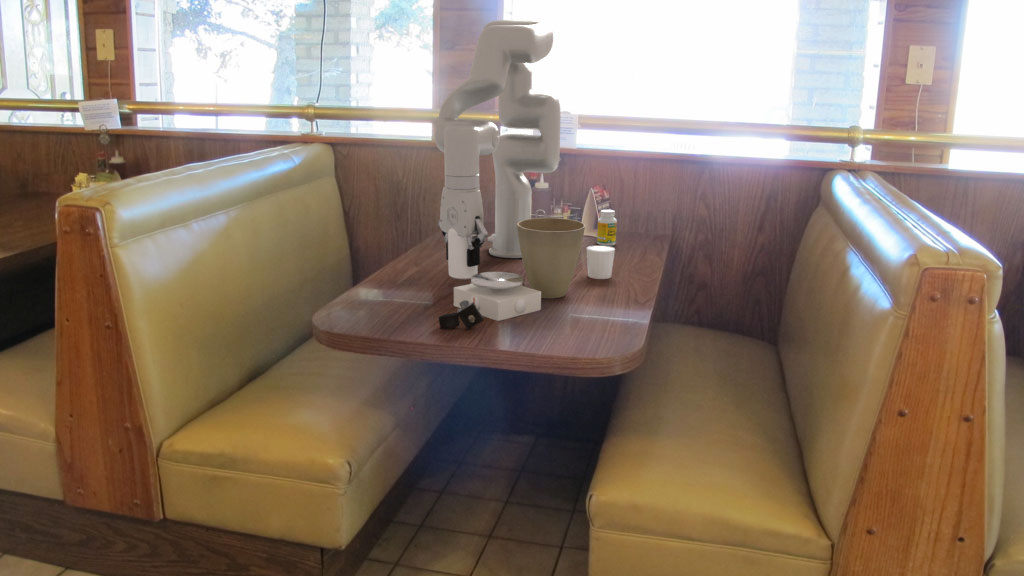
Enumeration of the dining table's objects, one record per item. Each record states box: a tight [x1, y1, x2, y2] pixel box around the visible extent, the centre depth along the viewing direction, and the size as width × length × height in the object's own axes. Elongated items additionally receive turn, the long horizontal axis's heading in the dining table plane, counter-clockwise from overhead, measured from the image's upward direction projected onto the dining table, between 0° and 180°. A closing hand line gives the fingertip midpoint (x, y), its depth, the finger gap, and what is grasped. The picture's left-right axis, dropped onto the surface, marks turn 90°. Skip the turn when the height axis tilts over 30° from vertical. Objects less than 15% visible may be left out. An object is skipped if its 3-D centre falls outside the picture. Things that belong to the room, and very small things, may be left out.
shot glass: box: [586, 244, 616, 280], centre depth 203 cm, size 7×7×7 cm
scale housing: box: [453, 283, 542, 322], centre depth 176 cm, size 14×12×4 cm
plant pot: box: [517, 217, 586, 299], centre depth 186 cm, size 15×15×16 cm
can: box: [447, 225, 479, 280], centre depth 186 cm, size 6×6×12 cm
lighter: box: [438, 300, 485, 330], centre depth 163 cm, size 8×2×5 cm
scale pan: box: [470, 271, 525, 289], centre depth 176 cm, size 11×11×2 cm
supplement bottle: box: [596, 209, 618, 247], centre depth 238 cm, size 5×5×10 cm
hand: (463, 261), depth 187 cm, fingers closed on can, 6 cm apart
